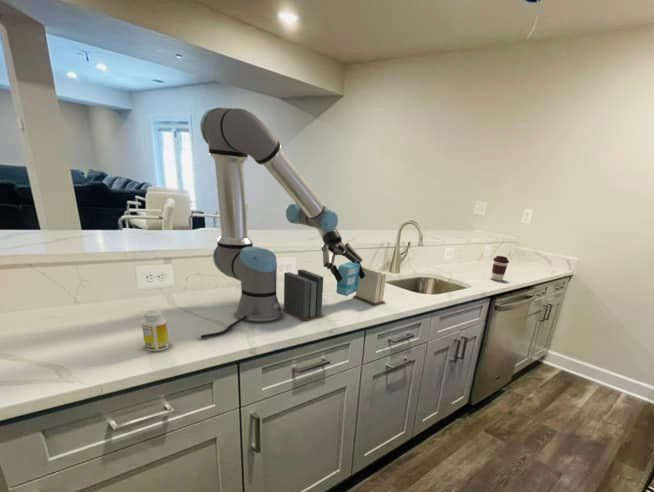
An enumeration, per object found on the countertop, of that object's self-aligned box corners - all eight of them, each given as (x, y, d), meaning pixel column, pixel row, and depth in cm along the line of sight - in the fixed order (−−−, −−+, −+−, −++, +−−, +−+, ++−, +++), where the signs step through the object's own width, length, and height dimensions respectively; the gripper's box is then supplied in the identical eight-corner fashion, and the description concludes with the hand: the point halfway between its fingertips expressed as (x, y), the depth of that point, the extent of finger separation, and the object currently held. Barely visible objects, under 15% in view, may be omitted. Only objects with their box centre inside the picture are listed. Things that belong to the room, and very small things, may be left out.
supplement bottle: (170, 343, 109) (166, 309, 106) (167, 351, 105) (163, 316, 101) (147, 344, 107) (142, 309, 103) (143, 352, 103) (138, 316, 99)
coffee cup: (504, 282, 249) (509, 259, 243) (489, 279, 250) (494, 256, 244) (504, 279, 258) (509, 257, 252) (489, 276, 259) (494, 254, 253)
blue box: (345, 296, 156) (348, 267, 151) (335, 294, 157) (338, 265, 152) (357, 290, 167) (360, 263, 162) (348, 288, 168) (350, 261, 163)
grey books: (304, 320, 139) (305, 279, 133) (283, 310, 146) (283, 270, 140) (322, 316, 145) (324, 277, 139) (301, 307, 153) (302, 269, 147)
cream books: (374, 305, 167) (377, 273, 161) (353, 297, 174) (356, 266, 169) (384, 303, 172) (388, 271, 167) (364, 295, 179) (367, 264, 174)
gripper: (346, 239, 172) (367, 280, 170) (301, 240, 154) (324, 286, 151) (356, 229, 167) (377, 271, 165) (310, 229, 149) (333, 277, 146)
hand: (352, 279), depth 158 cm, fingers closed on blue box, 13 cm apart
